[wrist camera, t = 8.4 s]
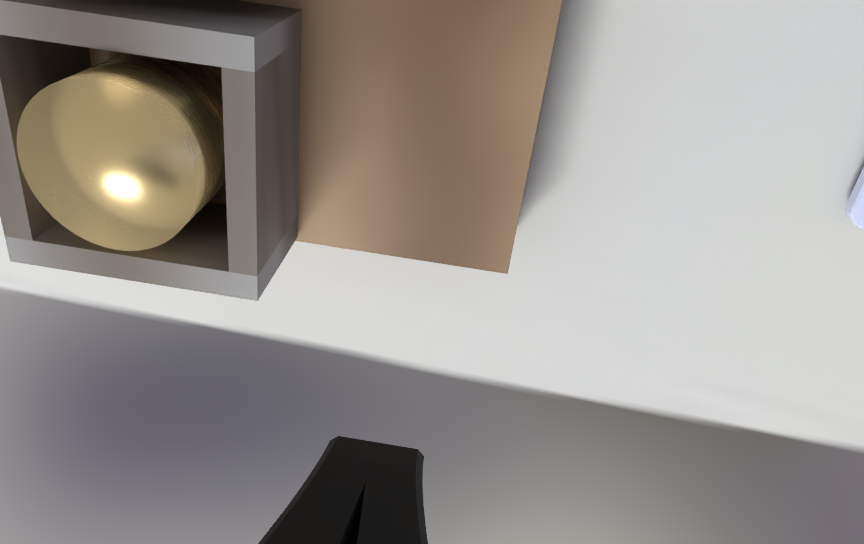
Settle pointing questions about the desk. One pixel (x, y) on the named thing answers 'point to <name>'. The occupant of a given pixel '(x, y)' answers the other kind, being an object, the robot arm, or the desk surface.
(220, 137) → the knob
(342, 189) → the knob panel
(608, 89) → the desk surface
